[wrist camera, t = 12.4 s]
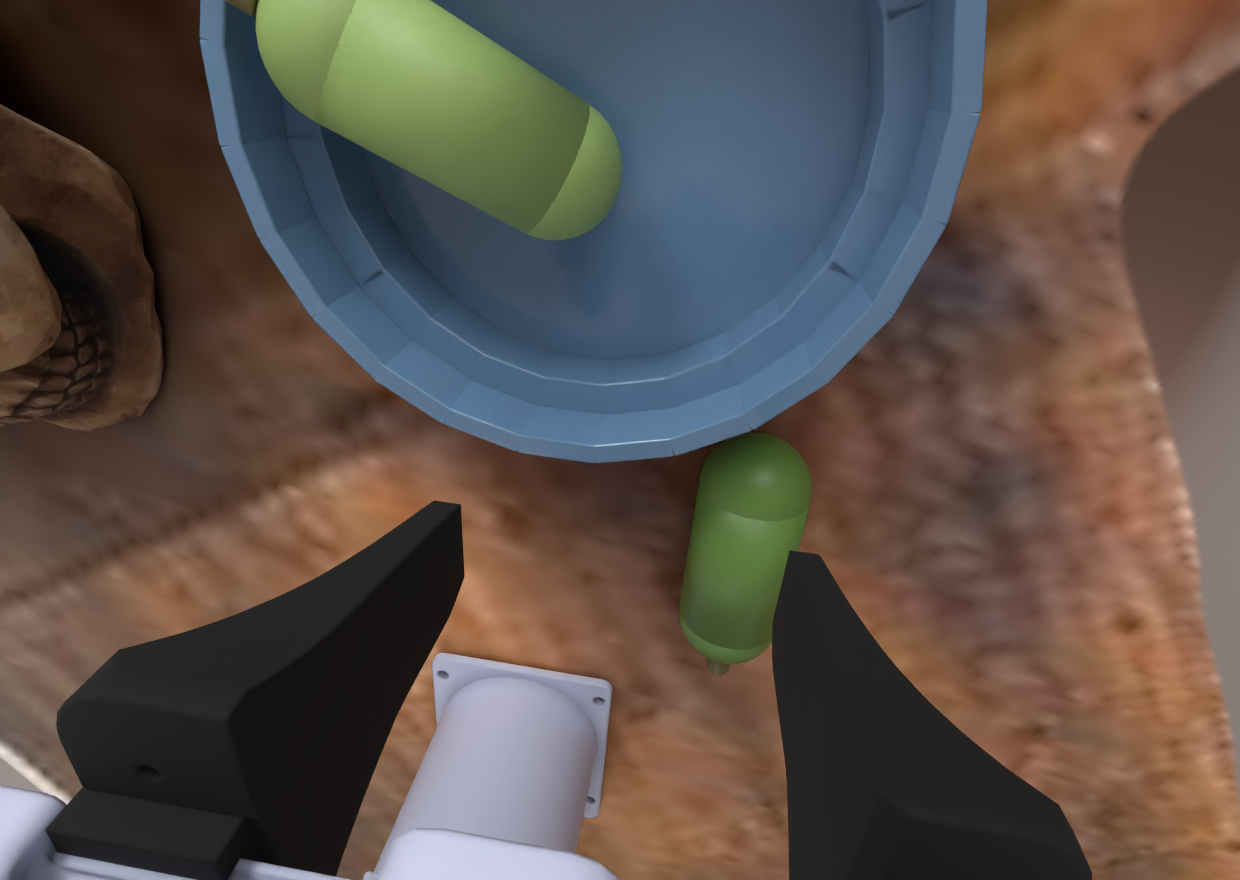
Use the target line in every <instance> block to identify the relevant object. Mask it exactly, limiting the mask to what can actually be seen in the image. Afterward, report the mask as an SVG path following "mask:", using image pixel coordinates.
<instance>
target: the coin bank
mask: <svg viewBox="0 0 1240 880" xmlns="http://www.w3.org/2000/svg"><path fill="white" fill-rule="evenodd" d="M154 297H155V291H154V273H153V271H152V269H151V267H150V265H149V263H148V261H147V259H146V258H145V256H144V248H143V241H142V234H141V223H140V216H139V213H138V210H137V207H136V204H135V201H134V198H133V195H132V191H131V189H130V187H129V186H128V185H127V183H126V182H125V181H124V179H123V178H122V177H121V175H120V174H119V173H118V171H116V170H115V169H114V168H112V167H111V166H109V165H108V164H107V163H105V162H104V161H103V160H101V159H100V158H99V157H97V156H96V155H94V154H93V153H92V152H90V151H89V150H87V149H86V148H84V147H83V146H81V145H79V144H77V143H75V142H73V141H71V140H69V139H67V138H65V137H63V136H61V135H59V134H57V133H55V132H53V131H51V130H49V129H47V128H45V127H43V126H41V125H39V124H37V123H35V122H33V121H31V120H29V119H27V118H25V117H23V116H21V115H19V114H17V113H15V112H14V111H12V110H10V109H8V108H7V107H5V106H3V105H1V104H0V426H5V425H10V424H13V423H17V422H30V421H31V420H32V419H34V418H36V419H40V420H43V421H46V422H49V423H53V424H56V425H59V426H62V427H65V428H69V429H72V430H80V431H92V430H96V429H100V428H103V427H107V426H110V425H113V424H116V423H119V422H122V421H125V420H129V419H132V418H136V417H139V416H142V415H143V413H144V411H145V410H146V408H147V406H148V404H149V402H150V401H151V400H152V399H153V398H154V397H155V396H156V394H157V393H158V390H159V387H160V384H161V378H162V372H163V366H164V359H163V344H162V329H161V325H160V322H159V319H158V316H157V313H156V310H155V307H154Z"/></svg>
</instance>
